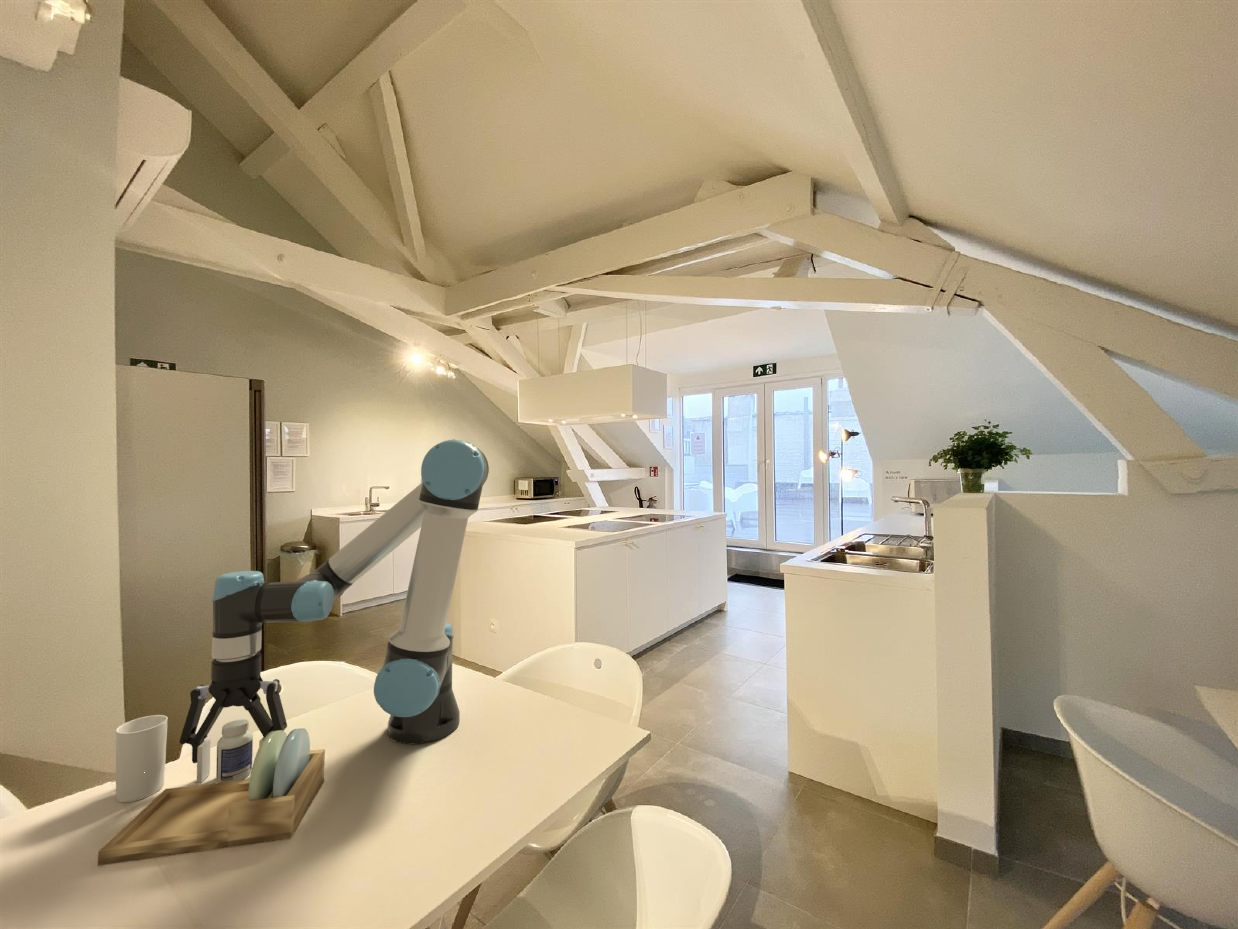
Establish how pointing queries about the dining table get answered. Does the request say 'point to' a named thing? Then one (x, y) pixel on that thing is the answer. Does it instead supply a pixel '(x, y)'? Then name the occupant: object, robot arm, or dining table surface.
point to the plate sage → (265, 765)
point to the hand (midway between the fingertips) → (234, 775)
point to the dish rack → (214, 818)
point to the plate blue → (291, 761)
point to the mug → (140, 757)
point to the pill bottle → (234, 752)
